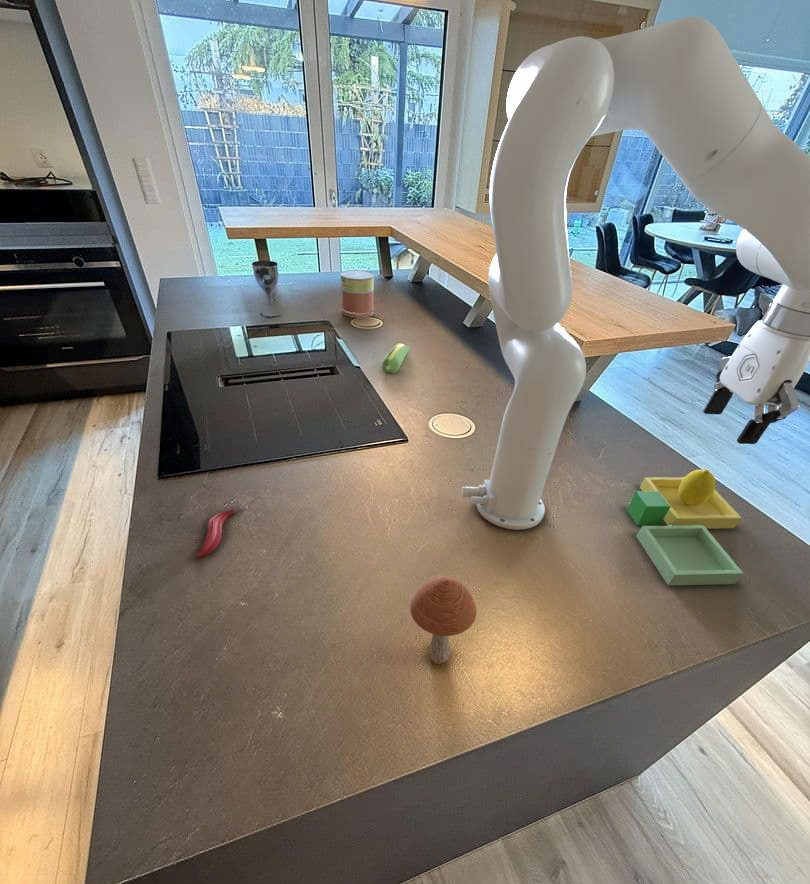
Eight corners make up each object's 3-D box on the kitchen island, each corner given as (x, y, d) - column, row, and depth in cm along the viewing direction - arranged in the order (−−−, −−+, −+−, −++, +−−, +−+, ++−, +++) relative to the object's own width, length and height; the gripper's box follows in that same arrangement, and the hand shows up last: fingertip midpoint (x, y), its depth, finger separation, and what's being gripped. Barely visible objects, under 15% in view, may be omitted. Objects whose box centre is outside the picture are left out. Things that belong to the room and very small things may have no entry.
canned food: (345, 306, 168) (344, 268, 160) (375, 308, 167) (376, 271, 159) (338, 316, 160) (337, 277, 151) (371, 319, 159) (371, 280, 151)
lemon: (705, 516, 87) (727, 481, 81) (674, 511, 87) (695, 476, 82) (697, 498, 91) (718, 464, 85) (668, 494, 91) (687, 459, 86)
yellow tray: (670, 529, 84) (676, 518, 83) (639, 487, 94) (644, 477, 92) (733, 528, 86) (741, 517, 84) (697, 487, 95) (703, 477, 93)
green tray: (667, 585, 74) (675, 574, 72) (636, 536, 82) (641, 525, 81) (734, 584, 75) (743, 573, 73) (696, 535, 83) (703, 525, 82)
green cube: (636, 525, 85) (647, 506, 82) (626, 510, 88) (635, 491, 85) (660, 525, 85) (670, 506, 82) (648, 509, 88) (658, 491, 85)
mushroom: (403, 631, 65) (410, 555, 54) (459, 629, 65) (476, 554, 55) (408, 683, 59) (417, 609, 49) (469, 679, 60) (490, 606, 49)
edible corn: (378, 375, 126) (378, 359, 123) (396, 349, 140) (397, 334, 137) (396, 378, 125) (397, 362, 122) (412, 352, 139) (413, 336, 136)
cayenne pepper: (224, 508, 82) (222, 499, 80) (247, 515, 81) (245, 506, 79) (179, 552, 73) (175, 543, 72) (204, 560, 72) (201, 551, 71)
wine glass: (255, 316, 155) (247, 265, 145) (264, 308, 161) (257, 259, 150) (278, 318, 154) (272, 267, 144) (286, 311, 160) (281, 262, 150)
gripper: (734, 300, 72) (680, 402, 83) (814, 341, 59) (738, 455, 71) (777, 303, 73) (718, 404, 84) (866, 344, 60) (782, 456, 72)
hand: (727, 427), depth 78 cm, fingers open, 9 cm apart
